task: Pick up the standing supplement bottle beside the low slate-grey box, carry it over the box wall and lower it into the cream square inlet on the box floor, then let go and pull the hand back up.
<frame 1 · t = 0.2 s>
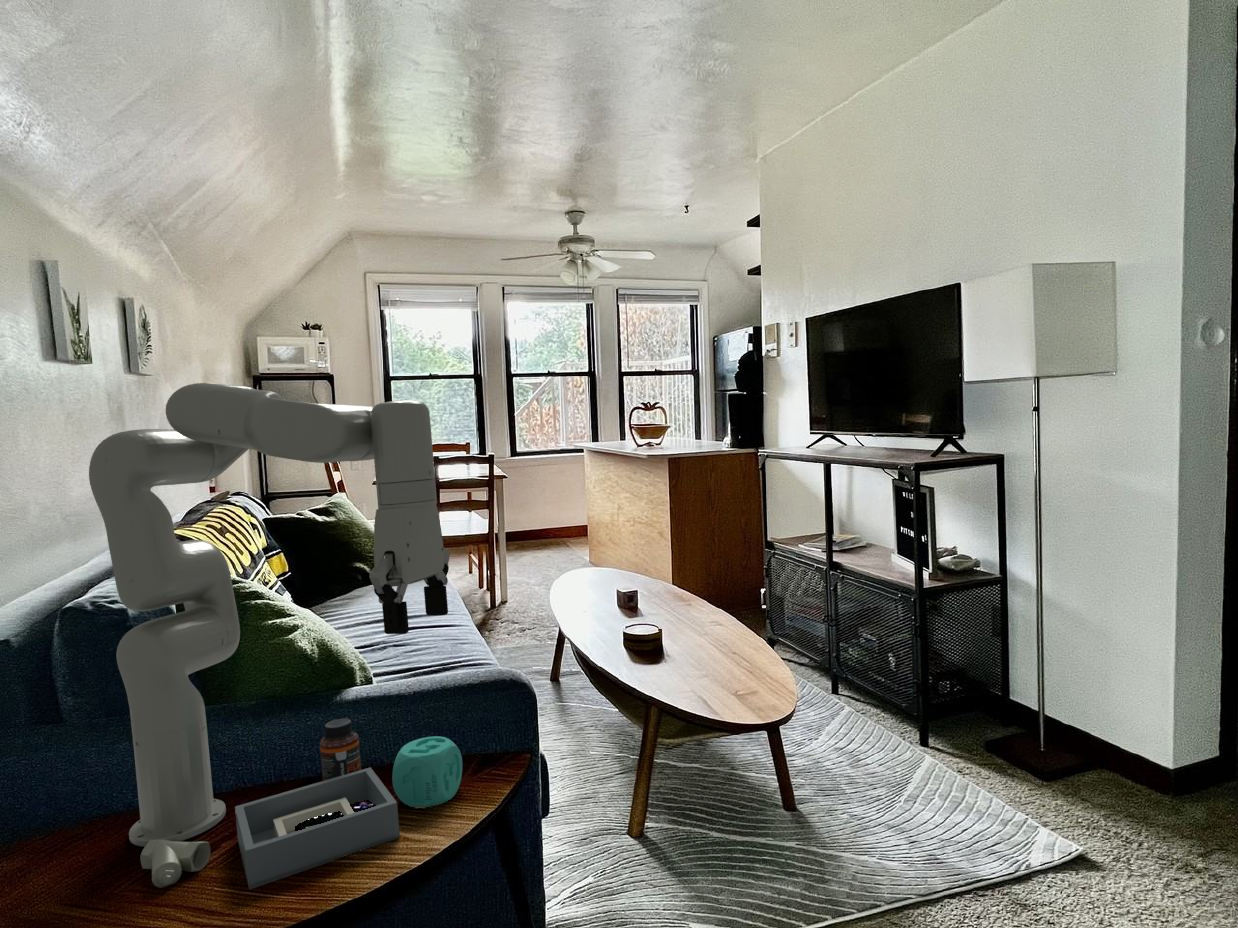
hand: (417, 623, 98), 31 cm above the table, tool pointing down, fingers open, 9 cm apart
supplement bottle: (343, 793, 119), on the table
pipe fitting: (167, 877, 98), on the table
decorative dice: (430, 797, 115), on the table
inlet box: (317, 839, 105), on the table
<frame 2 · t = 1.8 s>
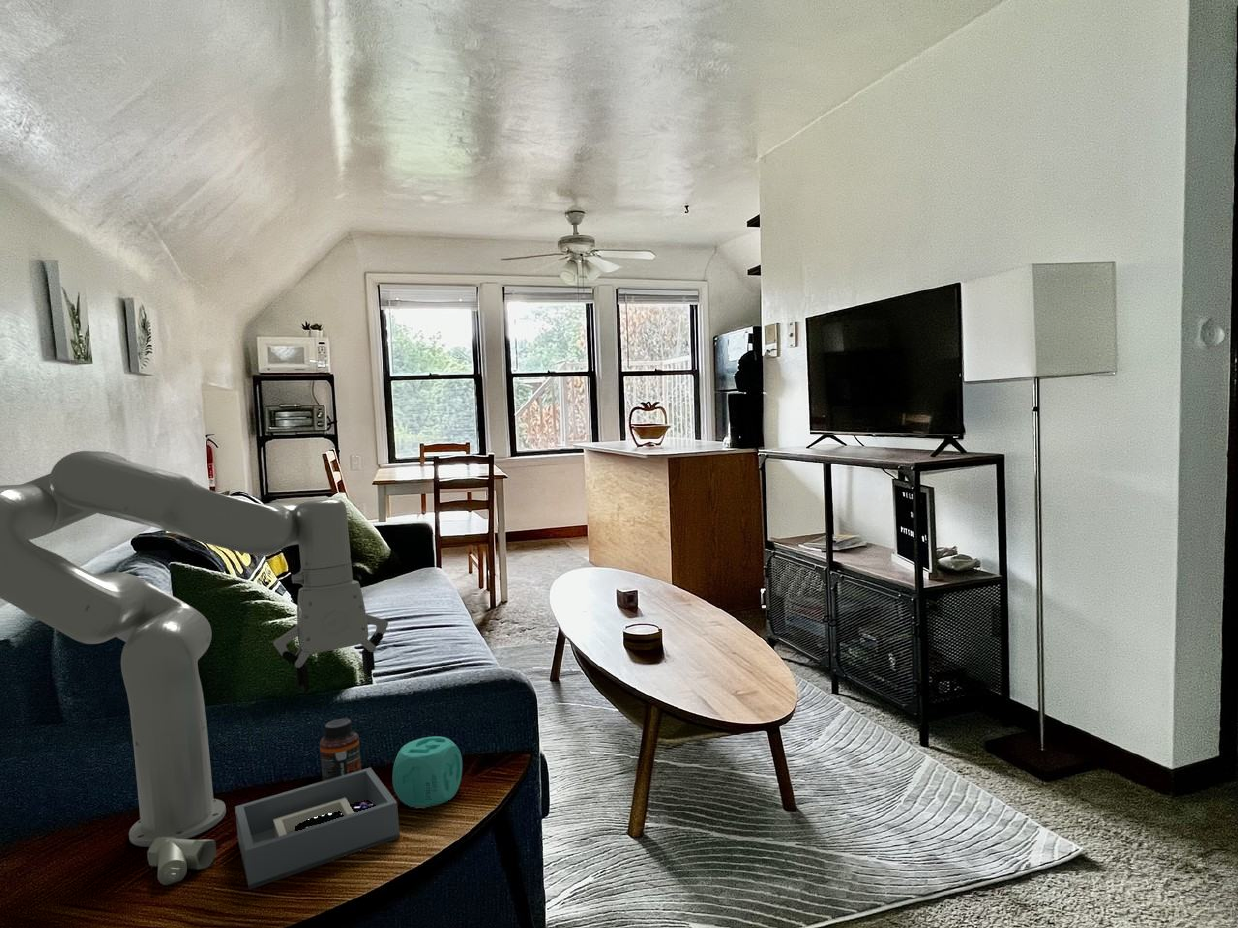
hand: (337, 682, 119), 18 cm above the table, tool pointing down, fingers open, 9 cm apart
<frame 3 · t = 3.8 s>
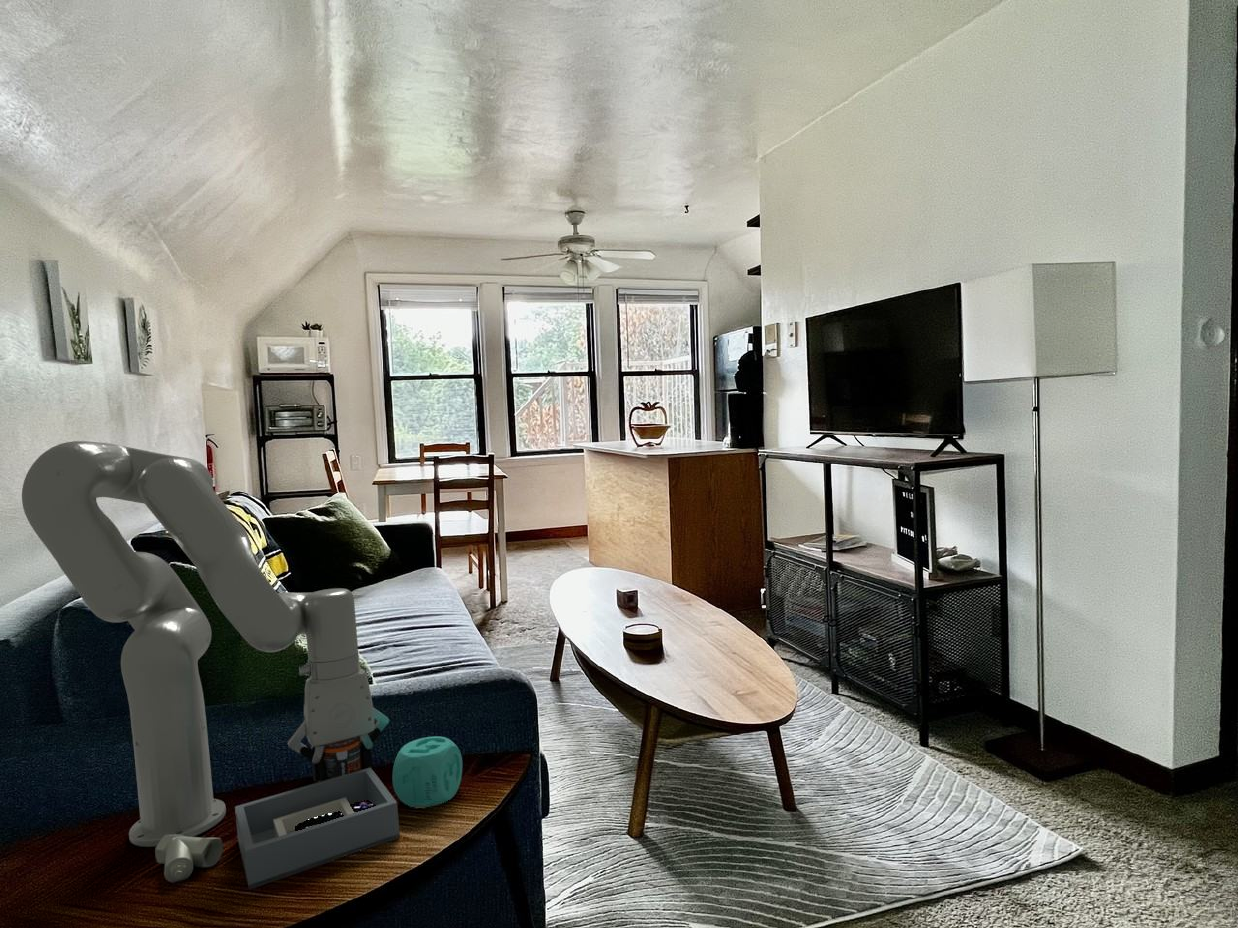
hand: (343, 776, 119), 3 cm above the table, tool pointing down, fingers closed on supplement bottle, 6 cm apart
supplement bottle: (344, 792, 119), on the table, touching gripper
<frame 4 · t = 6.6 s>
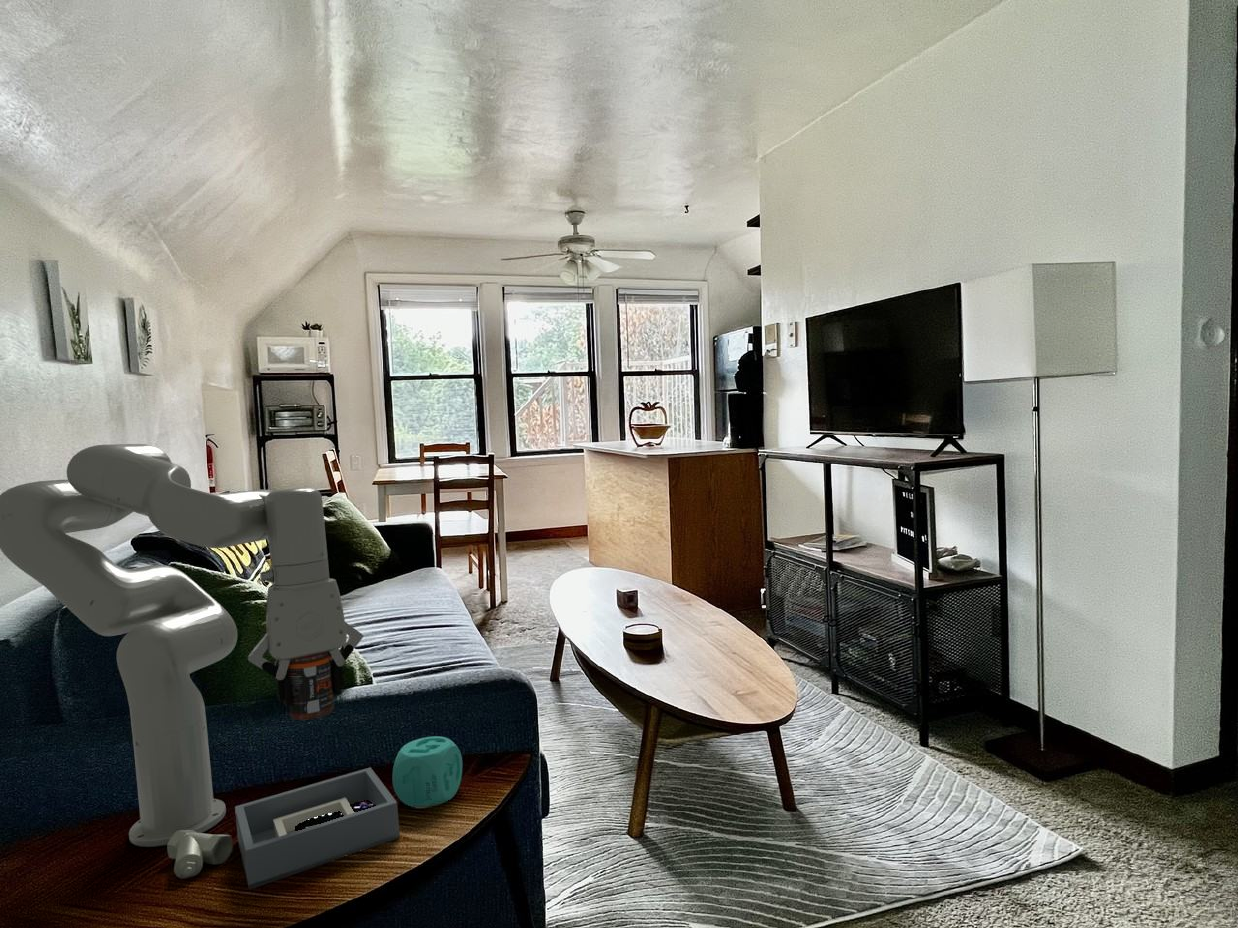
hand: (312, 697, 106), 20 cm above the table, tool pointing down, fingers closed on supplement bottle, 6 cm apart
supplement bottle: (313, 715, 107), point 17 cm above the table, touching gripper
pipe fitting: (191, 868, 100), on the table
everything else where it was.
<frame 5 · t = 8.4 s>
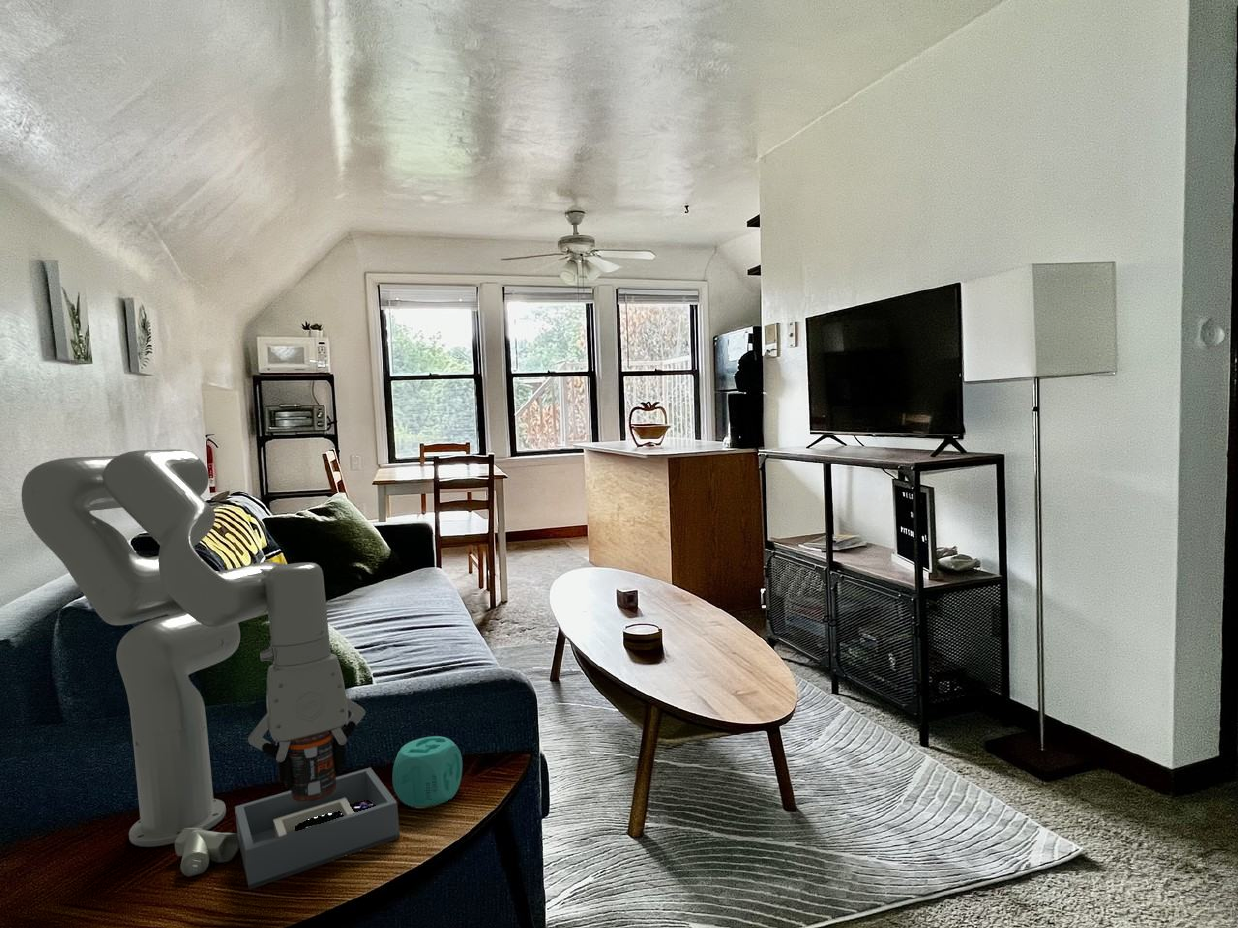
hand: (313, 776, 104), 9 cm above the table, tool pointing down, fingers closed on supplement bottle, 6 cm apart
supplement bottle: (314, 795, 105), point 6 cm above the table, touching gripper
when the fingers open (4 cm above the table, at t = 9.9 s): supplement bottle drops 1 cm, resting on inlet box.
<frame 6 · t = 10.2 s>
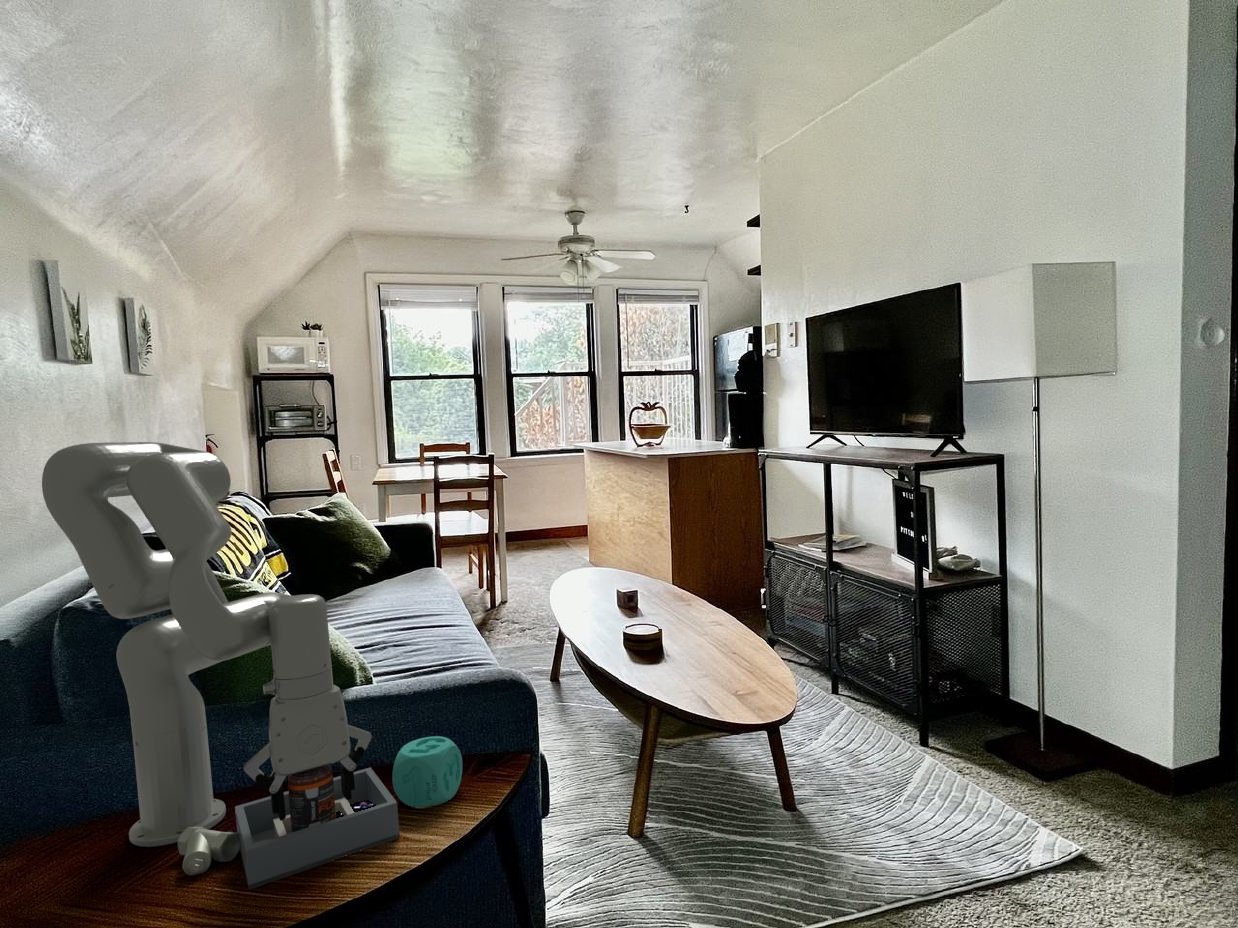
hand: (314, 805, 104), 5 cm above the table, tool pointing down, fingers open, 8 cm apart
supplement bottle: (314, 835, 105), resting on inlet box
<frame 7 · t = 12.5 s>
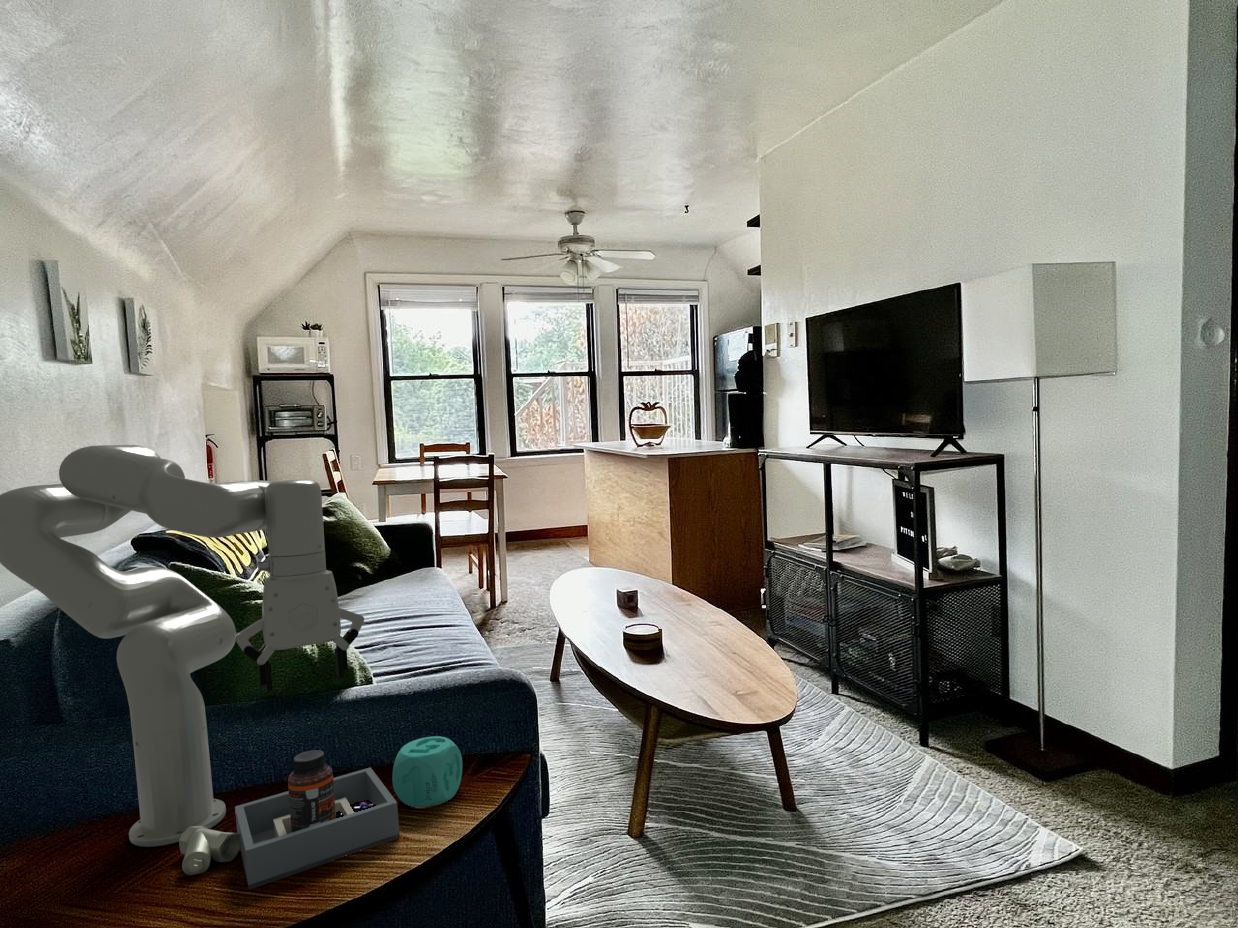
hand: (305, 682, 107), 21 cm above the table, tool pointing down, fingers open, 9 cm apart
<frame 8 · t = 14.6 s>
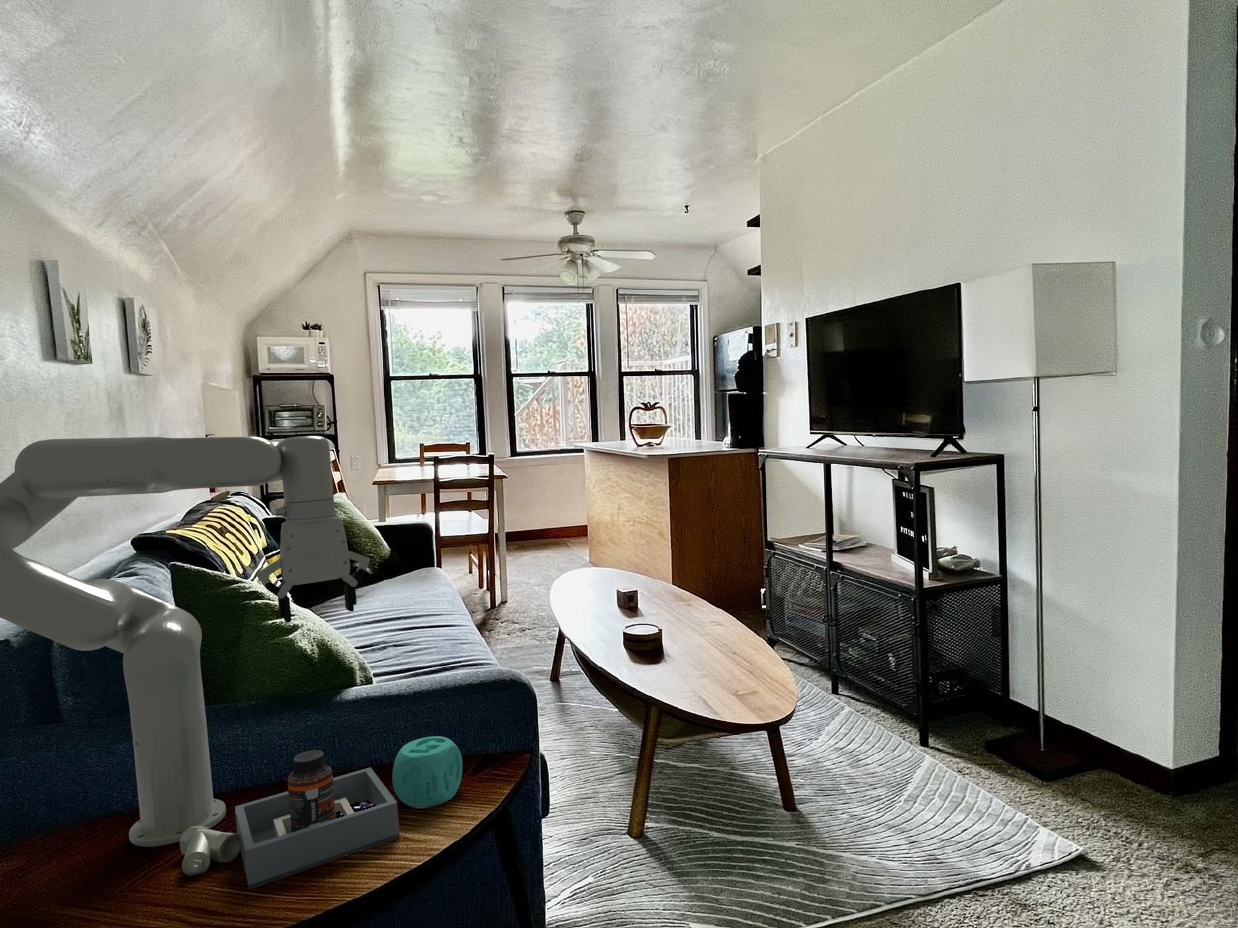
hand: (319, 615, 121), 28 cm above the table, tool pointing down, fingers open, 9 cm apart
at the end: supplement bottle 0.6 cm off-centre on the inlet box, point 0.4 cm above the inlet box's base; supplement bottle tilted 0°; the gripper is holding nothing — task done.
